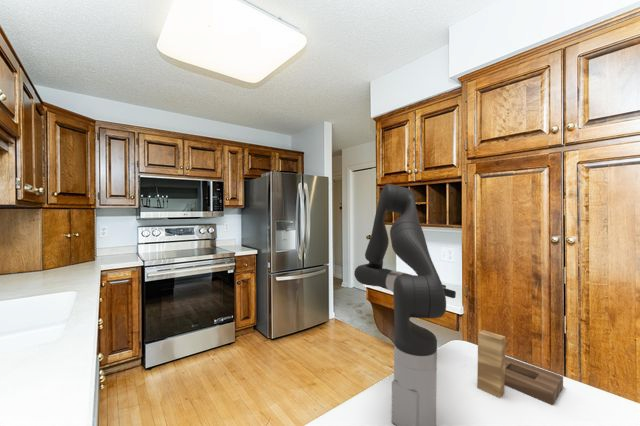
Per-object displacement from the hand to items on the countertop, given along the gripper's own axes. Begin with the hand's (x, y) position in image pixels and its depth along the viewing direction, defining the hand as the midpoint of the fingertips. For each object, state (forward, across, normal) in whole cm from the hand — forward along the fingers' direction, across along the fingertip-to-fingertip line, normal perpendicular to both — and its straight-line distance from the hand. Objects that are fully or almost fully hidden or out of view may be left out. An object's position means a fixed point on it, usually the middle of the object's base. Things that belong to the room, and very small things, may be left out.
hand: (447, 297), depth 86 cm
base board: (+16, +12, +21) cm, 29 cm away
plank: (+13, 0, +21) cm, 25 cm away
